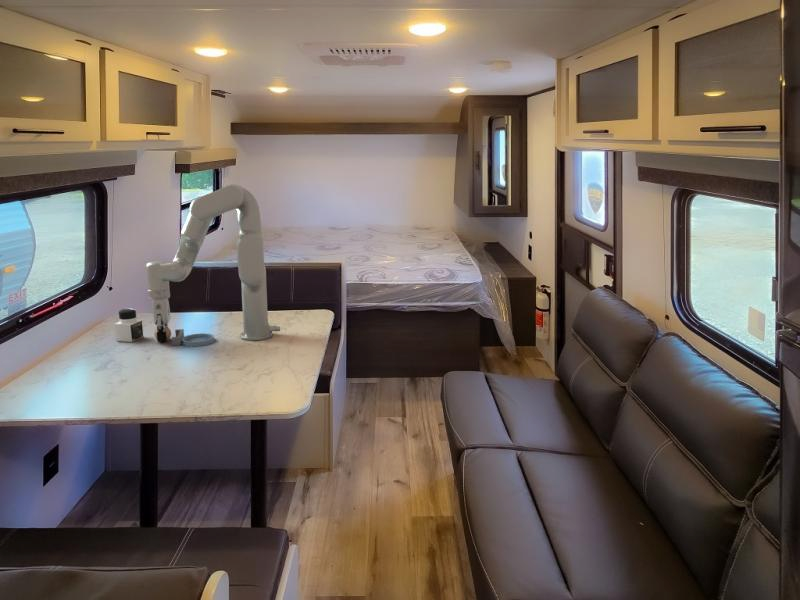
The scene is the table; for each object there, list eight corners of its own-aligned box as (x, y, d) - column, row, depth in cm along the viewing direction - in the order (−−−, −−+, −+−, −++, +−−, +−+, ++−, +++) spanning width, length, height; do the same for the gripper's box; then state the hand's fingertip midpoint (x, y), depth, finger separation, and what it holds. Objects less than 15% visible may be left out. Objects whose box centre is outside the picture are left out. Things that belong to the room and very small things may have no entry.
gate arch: (184, 336, 233) (183, 329, 233) (181, 345, 222) (180, 337, 221) (176, 336, 232) (175, 329, 232) (172, 345, 221) (172, 338, 220)
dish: (215, 336, 233) (214, 332, 233) (213, 345, 222) (213, 340, 222) (183, 338, 230) (182, 334, 230) (180, 347, 219) (179, 343, 219)
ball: (172, 338, 230) (171, 323, 229) (170, 342, 225) (169, 327, 223) (156, 339, 229) (154, 324, 227) (154, 343, 223) (152, 328, 222)
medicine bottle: (132, 342, 225) (129, 312, 222) (115, 341, 226) (112, 311, 224) (143, 337, 232) (141, 307, 229) (127, 336, 233) (124, 306, 230)
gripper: (167, 298, 215) (171, 345, 219) (172, 288, 232) (176, 332, 236) (145, 299, 213) (149, 346, 217) (152, 289, 230) (156, 333, 234)
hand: (163, 338), depth 226 cm, fingers open, 6 cm apart
